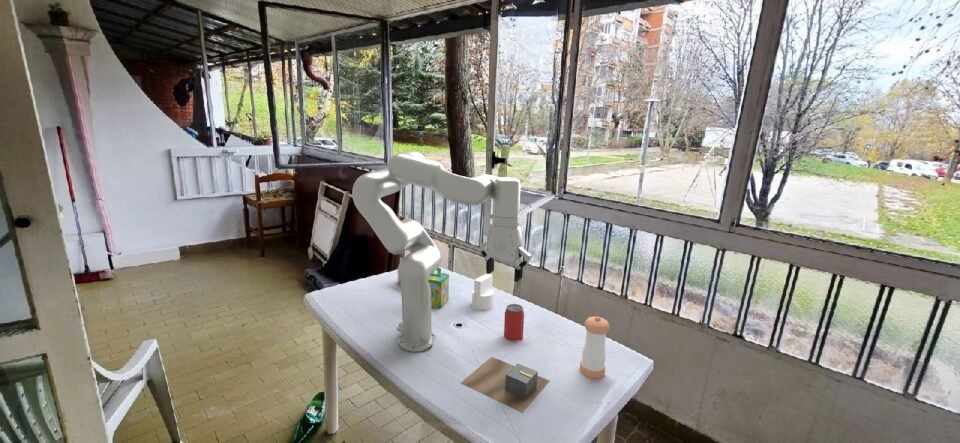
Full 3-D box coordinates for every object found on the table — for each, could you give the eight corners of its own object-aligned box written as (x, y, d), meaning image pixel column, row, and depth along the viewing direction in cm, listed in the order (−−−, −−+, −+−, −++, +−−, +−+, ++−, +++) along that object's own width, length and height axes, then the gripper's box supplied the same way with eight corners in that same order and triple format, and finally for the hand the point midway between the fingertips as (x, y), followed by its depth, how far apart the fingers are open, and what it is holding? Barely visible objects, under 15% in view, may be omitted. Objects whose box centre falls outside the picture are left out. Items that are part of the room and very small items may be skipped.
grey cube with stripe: (505, 390, 113) (505, 373, 111) (516, 378, 118) (517, 362, 116) (525, 399, 109) (526, 382, 108) (536, 387, 114) (537, 370, 113)
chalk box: (419, 305, 164) (419, 271, 160) (428, 296, 172) (428, 263, 169) (441, 309, 161) (441, 274, 158) (449, 299, 170) (449, 265, 166)
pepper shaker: (589, 385, 118) (595, 325, 113) (574, 370, 124) (579, 313, 119) (609, 379, 121) (616, 320, 116) (593, 365, 127) (599, 309, 122)
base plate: (460, 387, 116) (460, 382, 115) (491, 360, 128) (491, 356, 128) (522, 417, 105) (522, 412, 104) (549, 385, 117) (550, 380, 117)
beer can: (521, 345, 137) (523, 313, 134) (502, 343, 138) (503, 311, 135) (523, 335, 143) (525, 304, 140) (505, 333, 145) (506, 302, 142)
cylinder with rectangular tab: (480, 298, 172) (481, 271, 168) (498, 304, 166) (499, 276, 163) (467, 305, 164) (467, 278, 161) (485, 312, 159) (486, 283, 156)
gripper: (473, 218, 119) (472, 273, 123) (526, 228, 109) (522, 288, 114) (488, 213, 125) (486, 266, 129) (538, 223, 115) (535, 279, 120)
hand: (503, 276), depth 122 cm, fingers open, 9 cm apart
